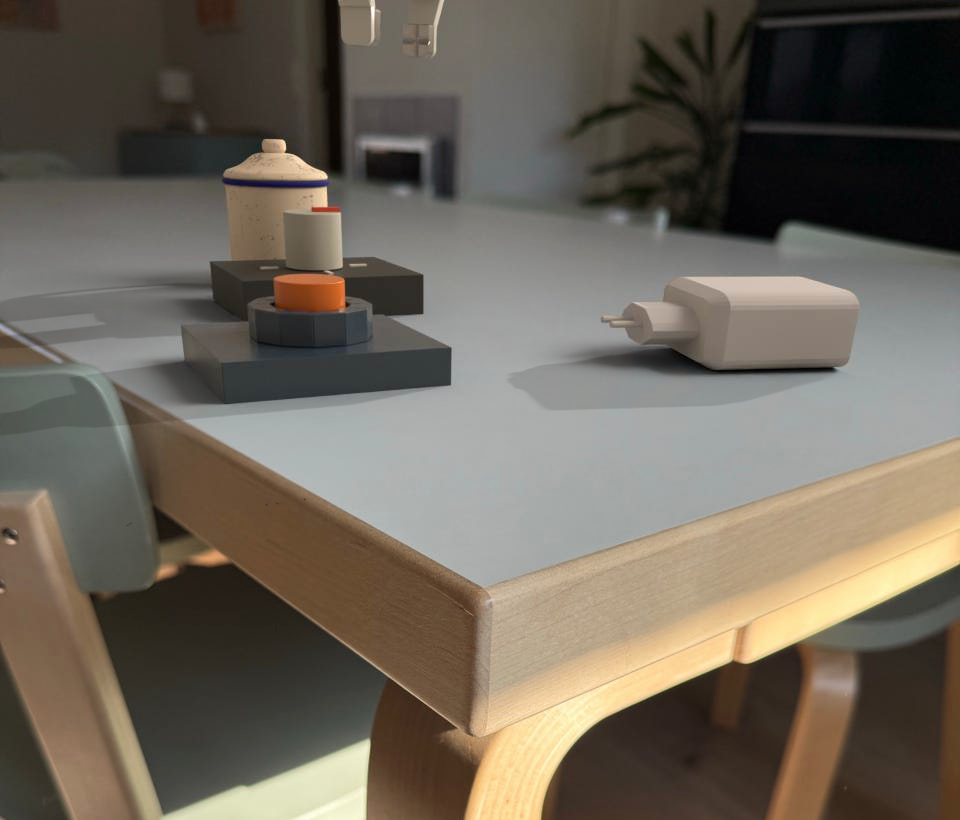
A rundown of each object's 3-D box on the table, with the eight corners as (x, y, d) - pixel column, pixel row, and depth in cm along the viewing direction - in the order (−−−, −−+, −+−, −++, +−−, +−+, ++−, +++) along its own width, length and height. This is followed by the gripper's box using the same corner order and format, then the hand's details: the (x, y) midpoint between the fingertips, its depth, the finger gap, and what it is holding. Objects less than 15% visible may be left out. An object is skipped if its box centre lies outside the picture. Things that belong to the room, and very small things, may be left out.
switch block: (225, 405, 52) (217, 326, 50) (184, 361, 60) (176, 293, 58) (451, 386, 57) (452, 314, 55) (383, 348, 65) (382, 285, 63)
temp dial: (295, 271, 75) (291, 210, 73) (279, 264, 78) (275, 205, 76) (350, 269, 76) (348, 209, 74) (332, 262, 80) (330, 204, 78)
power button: (286, 318, 54) (284, 285, 54) (267, 306, 58) (265, 274, 57) (355, 314, 56) (354, 282, 55) (333, 303, 59) (331, 272, 58)
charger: (580, 346, 68) (779, 342, 71) (626, 377, 60) (847, 371, 63) (586, 273, 66) (790, 273, 69) (634, 296, 58) (863, 294, 61)
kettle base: (246, 324, 72) (242, 278, 70) (213, 300, 80) (209, 259, 79) (423, 314, 77) (423, 272, 76) (375, 293, 86) (374, 254, 84)
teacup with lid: (339, 291, 86) (334, 142, 81) (233, 292, 84) (220, 139, 78) (322, 272, 96) (316, 138, 91) (227, 272, 94) (215, 136, 89)
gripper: (405, -193, 62) (404, 61, 68) (245, -321, 44) (264, 36, 51) (502, -196, 60) (491, 64, 67) (375, -330, 43) (377, 40, 49)
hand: (392, 52), depth 59 cm, fingers open, 8 cm apart
